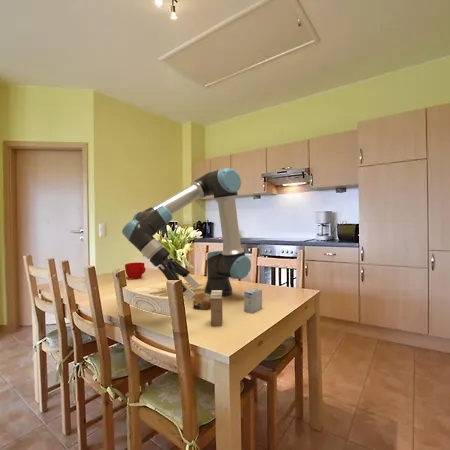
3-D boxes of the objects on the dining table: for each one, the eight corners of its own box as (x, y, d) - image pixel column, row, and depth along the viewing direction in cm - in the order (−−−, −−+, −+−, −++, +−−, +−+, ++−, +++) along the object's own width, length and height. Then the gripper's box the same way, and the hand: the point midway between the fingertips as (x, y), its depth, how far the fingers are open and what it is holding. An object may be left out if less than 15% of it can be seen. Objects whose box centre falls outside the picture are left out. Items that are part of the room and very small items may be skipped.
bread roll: (213, 317, 121) (220, 300, 122) (193, 310, 119) (200, 292, 120) (208, 310, 131) (215, 294, 132) (189, 303, 128) (196, 287, 129)
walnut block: (212, 320, 108) (211, 290, 108) (222, 320, 108) (222, 290, 108) (211, 326, 102) (210, 294, 102) (221, 326, 102) (221, 294, 102)
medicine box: (253, 306, 124) (253, 287, 124) (262, 308, 121) (262, 289, 121) (243, 311, 118) (243, 291, 118) (252, 313, 115) (252, 293, 115)
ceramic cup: (137, 281, 178) (137, 266, 178) (121, 279, 188) (120, 264, 187) (152, 278, 189) (152, 263, 189) (136, 275, 198) (136, 261, 198)
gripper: (158, 255, 118) (193, 290, 117) (137, 265, 93) (182, 309, 92) (170, 243, 117) (205, 278, 117) (152, 250, 92) (197, 294, 92)
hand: (195, 292), depth 105 cm, fingers open, 13 cm apart
